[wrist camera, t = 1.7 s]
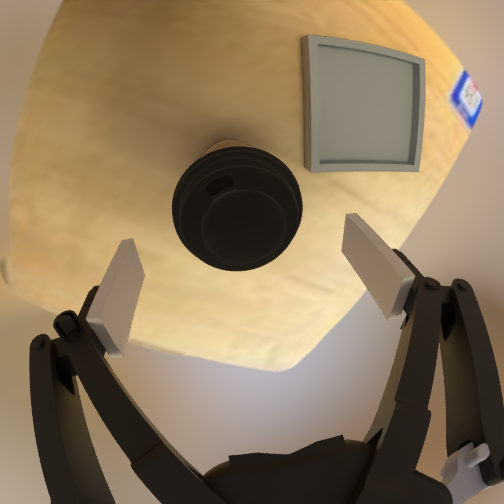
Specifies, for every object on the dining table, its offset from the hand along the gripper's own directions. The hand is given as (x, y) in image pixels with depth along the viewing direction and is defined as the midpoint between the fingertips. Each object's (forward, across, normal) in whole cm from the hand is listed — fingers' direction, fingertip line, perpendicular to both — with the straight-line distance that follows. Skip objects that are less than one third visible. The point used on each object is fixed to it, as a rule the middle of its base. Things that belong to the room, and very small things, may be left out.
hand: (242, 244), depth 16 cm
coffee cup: (+17, 0, 0) cm, 17 cm away
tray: (+17, +17, +8) cm, 25 cm away
